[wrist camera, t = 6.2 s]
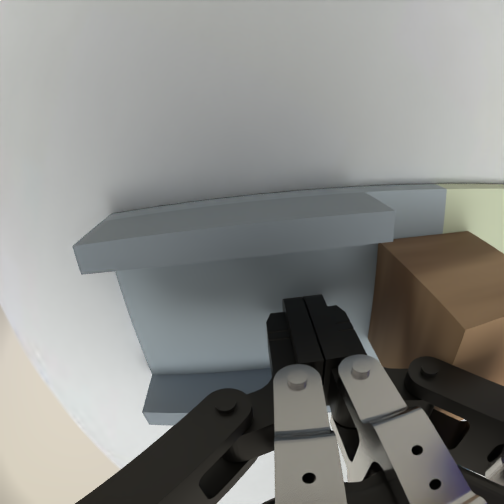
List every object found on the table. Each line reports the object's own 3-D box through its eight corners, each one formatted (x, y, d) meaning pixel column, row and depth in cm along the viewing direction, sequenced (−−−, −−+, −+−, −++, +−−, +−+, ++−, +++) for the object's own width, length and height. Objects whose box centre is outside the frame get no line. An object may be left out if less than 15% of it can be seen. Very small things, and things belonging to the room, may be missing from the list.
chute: (111, 213, 12) (72, 246, 8) (528, 185, 12) (570, 202, 8) (161, 374, 15) (149, 424, 12) (500, 315, 15) (528, 344, 12)
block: (378, 240, 12) (465, 329, 6) (468, 230, 12) (557, 293, 6) (367, 338, 14) (417, 437, 8) (449, 319, 14) (509, 395, 8)
